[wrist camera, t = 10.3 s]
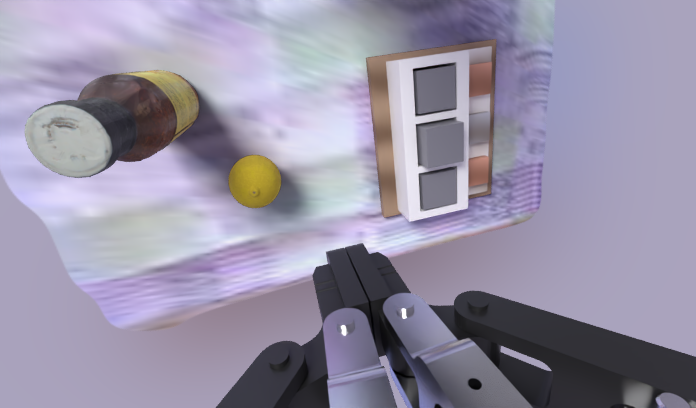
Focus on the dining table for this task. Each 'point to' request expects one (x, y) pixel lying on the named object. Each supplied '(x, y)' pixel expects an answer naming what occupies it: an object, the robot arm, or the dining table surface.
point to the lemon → (254, 181)
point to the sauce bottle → (112, 122)
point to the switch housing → (407, 120)
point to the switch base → (479, 118)
